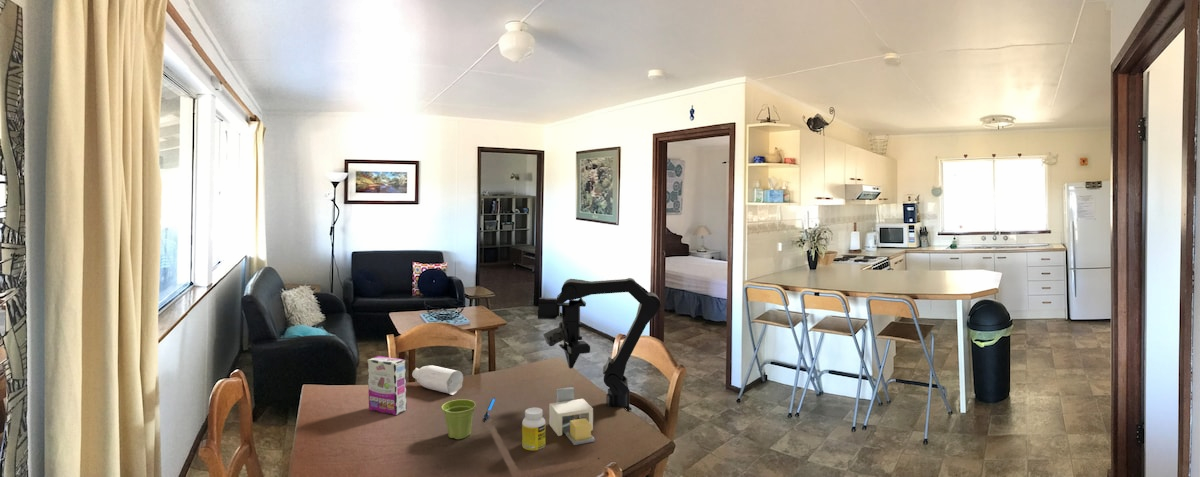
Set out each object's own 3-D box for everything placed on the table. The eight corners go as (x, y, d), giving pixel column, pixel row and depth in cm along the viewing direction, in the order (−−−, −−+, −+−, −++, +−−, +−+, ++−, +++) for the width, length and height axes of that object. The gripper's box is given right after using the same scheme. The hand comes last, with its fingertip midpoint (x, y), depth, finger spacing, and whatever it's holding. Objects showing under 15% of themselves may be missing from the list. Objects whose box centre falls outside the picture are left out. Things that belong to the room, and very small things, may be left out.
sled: (573, 420, 170) (574, 386, 169) (594, 444, 155) (595, 407, 154) (554, 423, 168) (554, 389, 167) (574, 448, 152) (574, 410, 152)
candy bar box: (407, 410, 179) (406, 359, 177) (396, 416, 174) (395, 363, 173) (379, 404, 183) (378, 354, 181) (368, 410, 178) (366, 359, 177)
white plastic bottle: (424, 381, 205) (424, 359, 205) (464, 390, 196) (463, 368, 195) (407, 387, 198) (407, 365, 198) (447, 397, 189) (446, 374, 188)
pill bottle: (541, 457, 149) (541, 416, 148) (519, 454, 150) (518, 414, 149) (548, 446, 155) (548, 407, 154) (526, 444, 156) (526, 405, 155)
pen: (482, 423, 170) (482, 419, 170) (493, 399, 189) (493, 395, 189) (485, 423, 170) (485, 419, 170) (495, 399, 189) (495, 395, 189)
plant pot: (446, 445, 155) (445, 414, 154) (439, 431, 163) (438, 402, 163) (480, 438, 159) (479, 408, 159) (471, 425, 168) (470, 397, 167)
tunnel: (574, 415, 176) (574, 390, 175) (592, 434, 162) (593, 408, 161) (542, 420, 172) (542, 395, 171) (558, 440, 158) (558, 413, 157)
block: (585, 433, 159) (585, 418, 159) (591, 440, 155) (591, 424, 155) (569, 436, 158) (569, 420, 157) (575, 443, 154) (575, 427, 153)
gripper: (537, 315, 184) (537, 362, 186) (555, 329, 167) (555, 380, 169) (570, 312, 189) (570, 358, 190) (591, 325, 171) (590, 376, 173)
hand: (570, 368), depth 180 cm, fingers closed
